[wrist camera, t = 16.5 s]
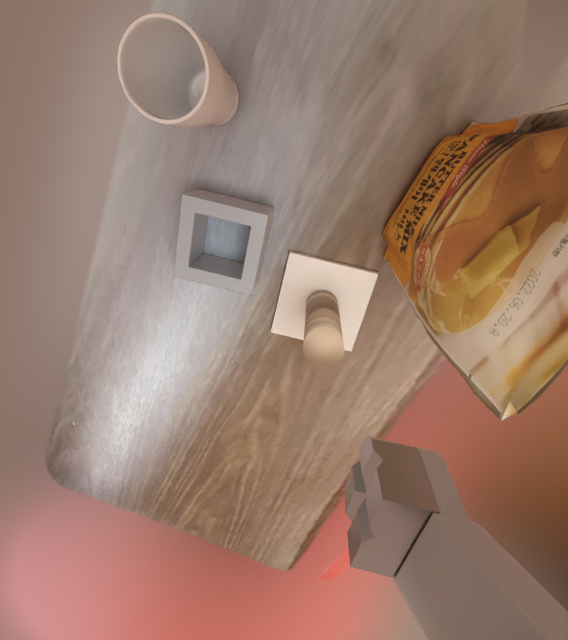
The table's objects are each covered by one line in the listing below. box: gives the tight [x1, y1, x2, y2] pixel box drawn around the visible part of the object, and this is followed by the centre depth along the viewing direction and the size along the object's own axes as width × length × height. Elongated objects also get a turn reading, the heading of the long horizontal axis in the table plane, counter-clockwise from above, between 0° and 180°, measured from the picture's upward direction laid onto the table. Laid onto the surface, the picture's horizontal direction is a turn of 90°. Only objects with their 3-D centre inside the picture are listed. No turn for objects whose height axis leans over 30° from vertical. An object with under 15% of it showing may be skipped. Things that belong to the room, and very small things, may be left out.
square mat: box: [271, 250, 378, 351], centre depth 48 cm, size 11×11×1 cm
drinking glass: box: [117, 13, 239, 128], centre depth 33 cm, size 7×7×15 cm
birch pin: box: [303, 290, 344, 369], centre depth 42 cm, size 4×4×12 cm
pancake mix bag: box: [382, 103, 568, 420], centre depth 30 cm, size 7×19×28 cm, turn 152°
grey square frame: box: [174, 189, 274, 295], centre depth 43 cm, size 9×9×6 cm
